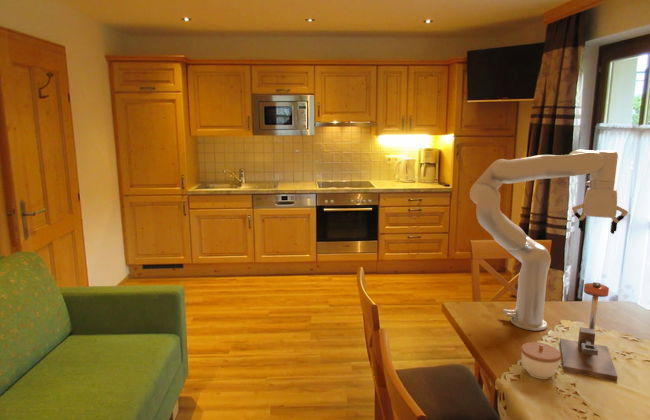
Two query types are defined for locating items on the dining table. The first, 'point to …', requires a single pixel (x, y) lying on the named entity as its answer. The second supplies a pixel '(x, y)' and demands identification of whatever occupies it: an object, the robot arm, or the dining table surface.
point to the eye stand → (587, 356)
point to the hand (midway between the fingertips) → (596, 231)
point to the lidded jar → (540, 359)
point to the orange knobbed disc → (595, 298)
